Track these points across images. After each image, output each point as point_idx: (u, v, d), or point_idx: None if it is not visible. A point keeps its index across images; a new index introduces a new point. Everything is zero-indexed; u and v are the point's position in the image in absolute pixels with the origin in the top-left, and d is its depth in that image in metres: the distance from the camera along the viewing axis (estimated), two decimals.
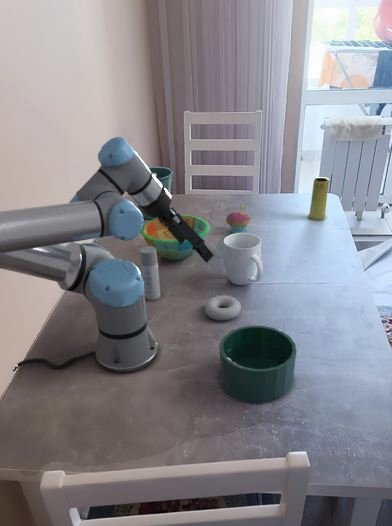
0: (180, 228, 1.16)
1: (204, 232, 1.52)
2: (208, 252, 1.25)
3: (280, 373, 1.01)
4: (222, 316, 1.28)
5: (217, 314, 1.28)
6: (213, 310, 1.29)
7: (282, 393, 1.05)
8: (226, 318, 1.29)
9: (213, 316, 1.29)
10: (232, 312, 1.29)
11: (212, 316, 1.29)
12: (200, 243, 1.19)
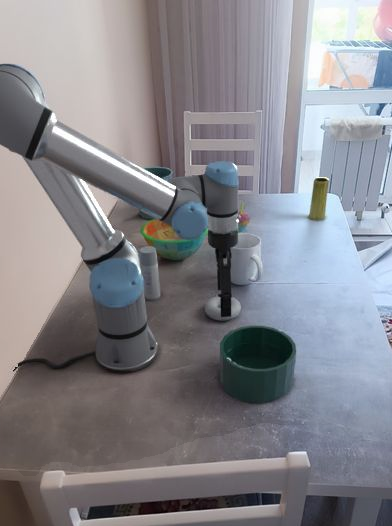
0: (222, 271, 1.17)
1: (204, 232, 1.52)
2: (228, 310, 1.24)
3: (280, 373, 1.01)
4: None
5: (217, 314, 1.28)
6: (213, 310, 1.29)
7: (282, 393, 1.05)
8: (226, 318, 1.29)
9: (213, 316, 1.29)
10: (232, 312, 1.29)
11: (212, 316, 1.29)
12: (227, 295, 1.18)
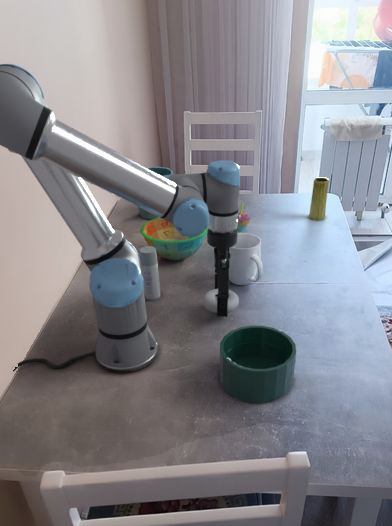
0: (220, 272, 1.18)
1: (204, 232, 1.52)
2: (225, 310, 1.26)
3: (280, 373, 1.01)
4: None
5: (215, 307, 1.27)
6: (211, 302, 1.28)
7: (282, 393, 1.05)
8: None
9: (211, 309, 1.28)
10: (230, 305, 1.27)
11: (210, 309, 1.28)
12: (224, 295, 1.20)
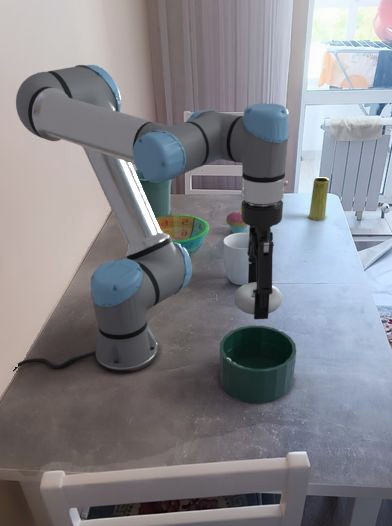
0: (261, 259, 0.87)
1: (204, 232, 1.52)
2: (265, 310, 0.95)
3: (280, 373, 1.01)
4: None
5: (252, 306, 0.96)
6: (246, 300, 0.97)
7: (282, 393, 1.05)
8: None
9: (246, 309, 0.97)
10: (272, 304, 0.96)
11: (245, 309, 0.97)
12: (266, 291, 0.89)
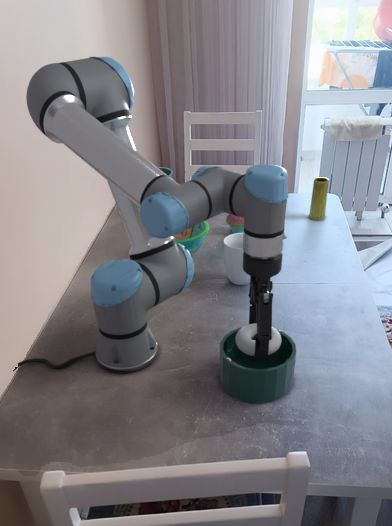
0: (261, 308, 0.92)
1: (204, 232, 1.52)
2: (265, 353, 1.00)
3: (280, 373, 1.01)
4: None
5: (253, 349, 1.01)
6: (247, 343, 1.01)
7: (282, 393, 1.05)
8: None
9: (247, 351, 1.01)
10: (272, 347, 1.01)
11: (246, 351, 1.02)
12: (266, 337, 0.94)
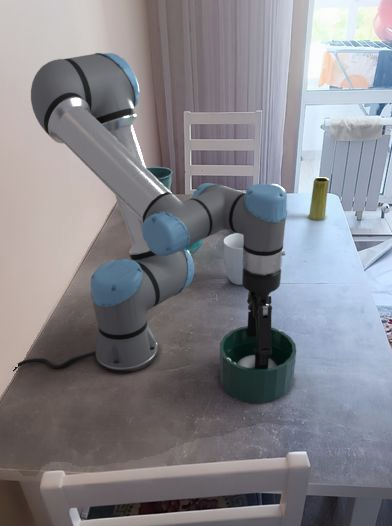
0: (260, 321, 0.93)
1: None
2: (265, 366, 1.00)
3: (280, 373, 1.01)
4: None
5: None
6: None
7: (282, 393, 1.05)
8: None
9: None
10: None
11: None
12: (266, 351, 0.94)
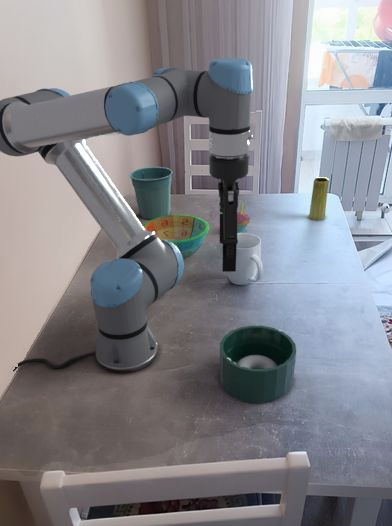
0: (226, 207, 0.90)
1: (204, 232, 1.52)
2: (233, 262, 0.97)
3: (280, 373, 1.01)
4: None
5: None
6: None
7: (282, 393, 1.05)
8: None
9: None
10: None
11: None
12: (231, 240, 0.91)
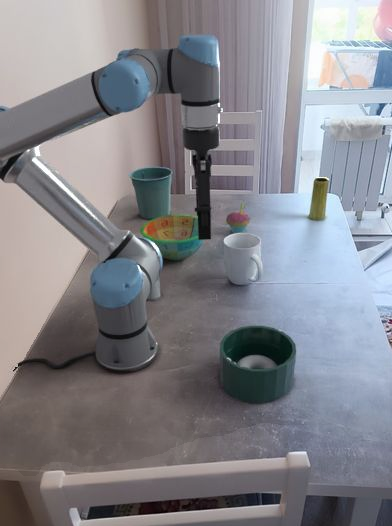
0: (199, 176, 0.96)
1: None
2: (208, 230, 1.03)
3: (280, 373, 1.01)
4: None
5: None
6: None
7: (282, 393, 1.05)
8: None
9: None
10: None
11: None
12: (205, 208, 0.97)
